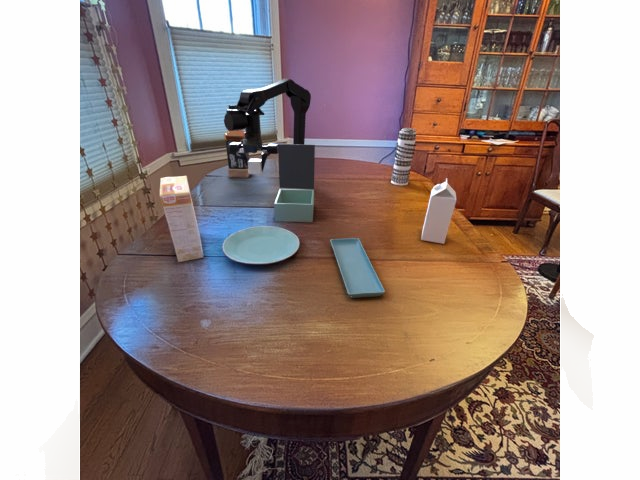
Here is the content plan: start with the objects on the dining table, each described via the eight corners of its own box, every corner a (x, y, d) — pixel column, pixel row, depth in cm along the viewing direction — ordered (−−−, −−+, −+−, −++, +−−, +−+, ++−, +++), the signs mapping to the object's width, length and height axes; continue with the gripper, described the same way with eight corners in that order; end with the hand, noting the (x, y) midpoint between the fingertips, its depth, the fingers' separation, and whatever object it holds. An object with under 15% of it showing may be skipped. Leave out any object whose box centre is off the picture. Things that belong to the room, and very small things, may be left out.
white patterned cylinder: (411, 182, 149) (421, 128, 136) (405, 186, 142) (415, 131, 129) (394, 178, 153) (402, 126, 140) (387, 183, 146) (395, 128, 133)
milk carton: (443, 234, 100) (459, 179, 90) (444, 244, 94) (460, 186, 84) (422, 231, 102) (434, 176, 92) (421, 240, 96) (434, 183, 86)
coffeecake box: (176, 238, 93) (159, 177, 83) (200, 235, 96) (187, 175, 85) (177, 263, 82) (158, 195, 71) (204, 258, 84) (190, 191, 74)
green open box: (312, 222, 106) (312, 204, 103) (275, 221, 106) (274, 203, 102) (313, 205, 119) (314, 189, 116) (280, 204, 119) (279, 188, 116)
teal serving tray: (384, 298, 71) (386, 290, 70) (347, 301, 70) (348, 293, 68) (358, 244, 93) (358, 237, 92) (329, 246, 92) (329, 239, 90)
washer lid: (314, 145, 108) (314, 144, 109) (277, 144, 108) (278, 143, 108) (314, 188, 115) (314, 188, 116) (279, 187, 115) (279, 187, 116)
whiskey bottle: (248, 178, 148) (240, 106, 131) (228, 177, 148) (218, 105, 131) (252, 172, 156) (245, 104, 140) (233, 171, 156) (224, 103, 140)
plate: (312, 242, 93) (312, 234, 92) (274, 280, 76) (273, 271, 74) (253, 228, 101) (253, 220, 99) (207, 259, 84) (205, 250, 82)
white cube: (251, 170, 123) (250, 158, 120) (263, 171, 123) (262, 158, 120) (248, 174, 118) (247, 161, 116) (261, 174, 118) (260, 161, 116)
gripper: (221, 130, 105) (227, 174, 113) (274, 133, 105) (276, 176, 113) (230, 126, 114) (234, 167, 122) (278, 128, 114) (280, 169, 122)
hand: (255, 170), depth 120 cm, fingers closed on white cube, 5 cm apart
